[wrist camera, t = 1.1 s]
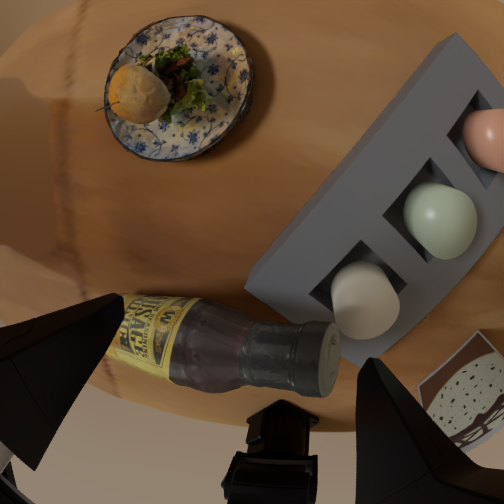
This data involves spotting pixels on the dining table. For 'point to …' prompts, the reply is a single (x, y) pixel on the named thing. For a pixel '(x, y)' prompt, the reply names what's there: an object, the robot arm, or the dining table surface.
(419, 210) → the sage button
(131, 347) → the sauce bottle
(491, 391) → the food container
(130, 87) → the burger
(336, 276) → the cream button
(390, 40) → the dining table surface
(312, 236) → the panel
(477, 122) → the terracotta button
